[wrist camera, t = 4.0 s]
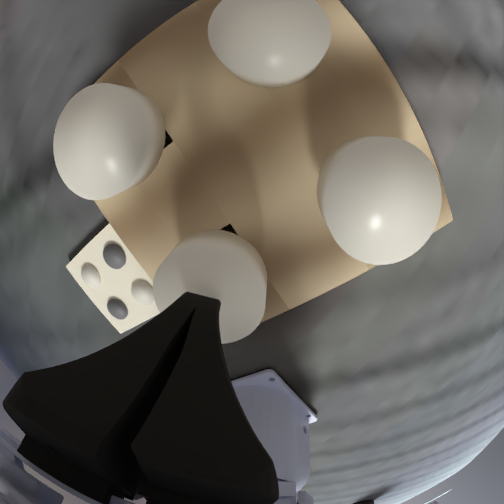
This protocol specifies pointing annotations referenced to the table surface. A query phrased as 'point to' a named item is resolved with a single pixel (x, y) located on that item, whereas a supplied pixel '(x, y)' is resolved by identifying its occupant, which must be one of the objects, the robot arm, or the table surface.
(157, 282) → the button
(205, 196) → the board
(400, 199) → the button
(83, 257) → the tile
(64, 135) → the button
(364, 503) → the bottle
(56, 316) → the table surface
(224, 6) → the button
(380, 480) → the table surface
